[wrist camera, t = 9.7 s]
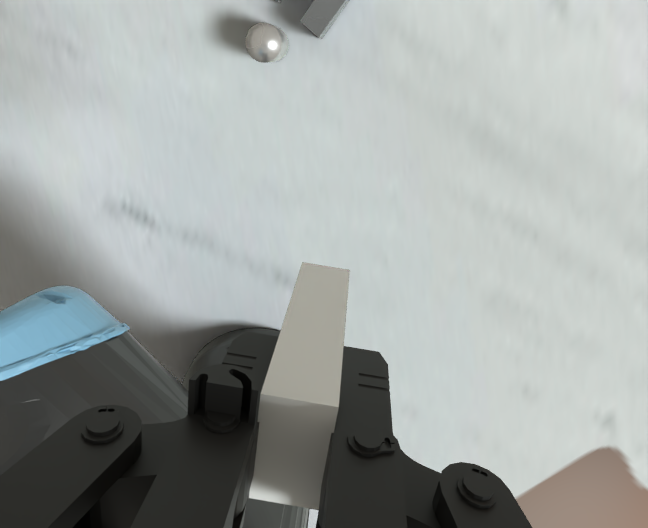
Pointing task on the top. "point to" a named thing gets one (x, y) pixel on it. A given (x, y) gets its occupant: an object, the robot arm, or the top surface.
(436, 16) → the top surface
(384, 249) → the top surface
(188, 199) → the top surface
